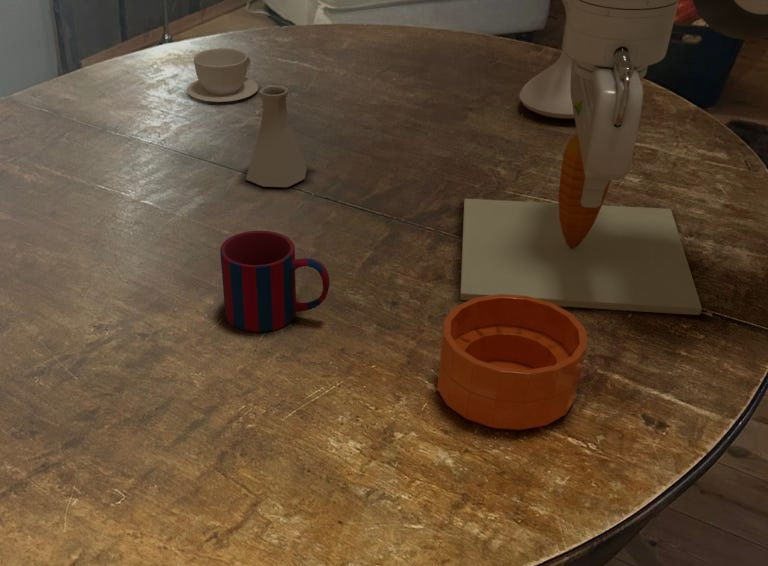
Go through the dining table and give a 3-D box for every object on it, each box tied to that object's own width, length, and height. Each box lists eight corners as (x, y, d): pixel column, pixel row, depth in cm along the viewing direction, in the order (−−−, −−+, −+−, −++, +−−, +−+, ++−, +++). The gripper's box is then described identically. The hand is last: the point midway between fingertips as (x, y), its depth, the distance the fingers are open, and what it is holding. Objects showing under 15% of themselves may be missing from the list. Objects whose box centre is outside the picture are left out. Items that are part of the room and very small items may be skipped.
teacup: (217, 111, 125) (215, 75, 122) (173, 92, 130) (169, 57, 127) (273, 91, 130) (272, 56, 126) (227, 73, 135) (225, 40, 132)
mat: (669, 215, 100) (671, 208, 100) (699, 315, 86) (702, 308, 85) (463, 204, 103) (464, 198, 103) (459, 300, 89) (460, 293, 88)
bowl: (568, 358, 81) (581, 298, 77) (577, 439, 73) (592, 378, 69) (439, 349, 83) (446, 290, 79) (434, 428, 75) (441, 367, 71)
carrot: (536, 248, 94) (561, 98, 84) (566, 231, 96) (593, 84, 86) (578, 265, 91) (609, 112, 81) (607, 247, 94) (640, 97, 84)
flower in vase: (530, 89, 128) (562, -123, 111) (614, 101, 124) (660, -117, 107) (503, 124, 119) (534, -101, 103) (592, 138, 116) (639, -93, 99)
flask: (316, 168, 111) (316, 83, 104) (291, 194, 106) (289, 106, 99) (262, 159, 113) (259, 75, 106) (235, 183, 108) (229, 96, 102)
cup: (245, 288, 91) (241, 224, 86) (339, 310, 88) (340, 245, 83) (212, 323, 87) (206, 257, 82) (310, 347, 83) (309, 280, 79)
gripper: (672, 74, 72) (631, 237, 81) (641, -3, 87) (609, 142, 96) (589, 72, 73) (558, 233, 82) (571, -4, 88) (547, 139, 97)
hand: (585, 183), depth 89 cm, fingers open, 7 cm apart
